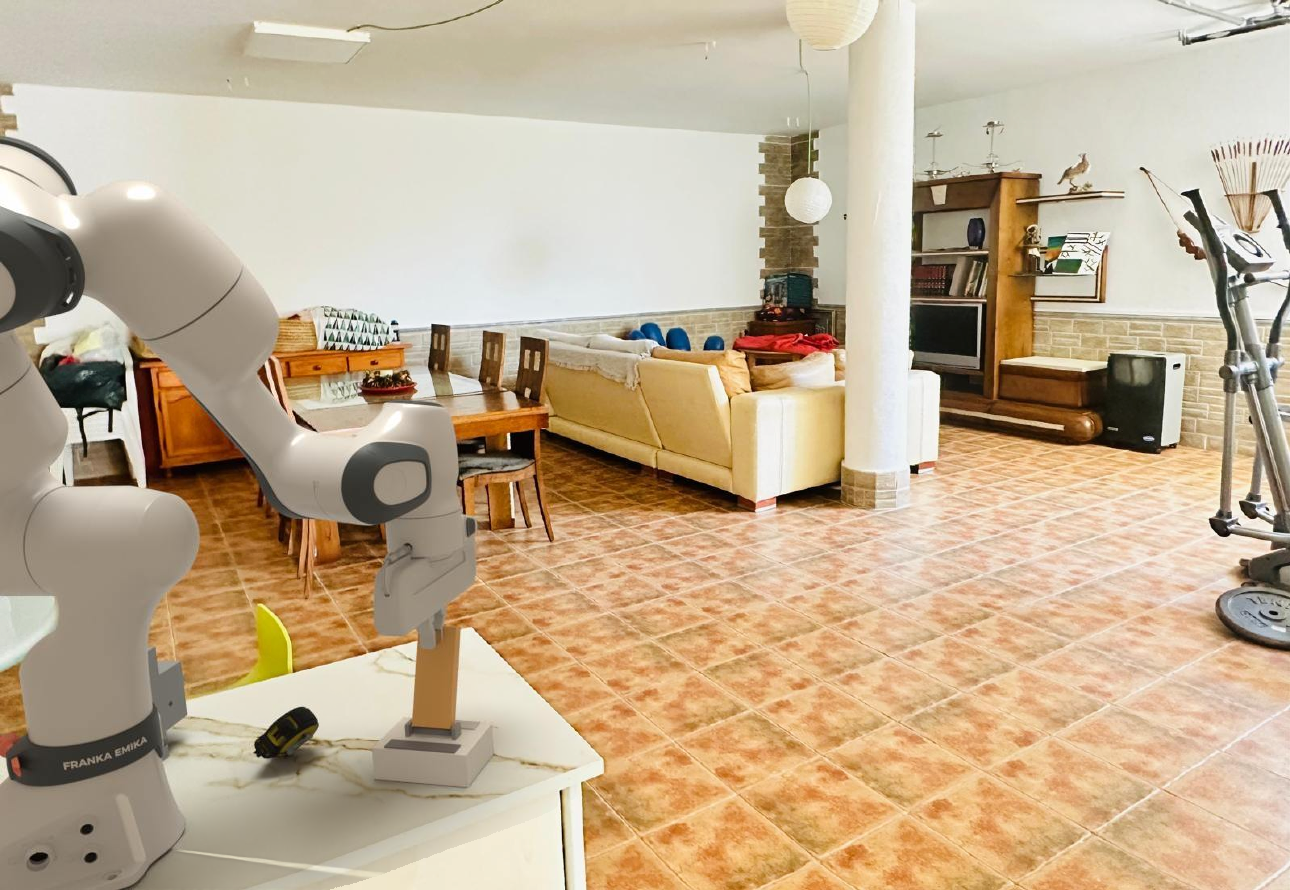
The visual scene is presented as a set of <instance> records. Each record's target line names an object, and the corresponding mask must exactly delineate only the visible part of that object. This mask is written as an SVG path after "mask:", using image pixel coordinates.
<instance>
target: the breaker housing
mask: <svg viewBox="0 0 1290 890" xmlns="http://www.w3.org/2000/svg"><path fill="white" fill-rule="evenodd" d="M412 729H413V726H412V717H410V716H409V717H407V716H403V717H401V719H400V720H399V721H398V722H397V723H395V725H394V726H393V727H392V728H391V729H389V730H388V732H386V733H385V734H384V736H382V738H381V739H379V740H378V741H377V742H376V743H375V744H374V745H373V746H372V747H371V755H372V766H373V776H374V777H373V778H374V780H380V781H390V782H391V781H393V782H405V783H412V784H413V783H415V784H425V785H426V784H427V785H435V786H436V785H437V786H446V787H447V786H448V787H458V788H459V787H460V788H469V787H470V786H471V785H472V783H473V782H474V781H475V779H476V778H477V776H478V775H479V774H480V773H481V771H482V770H483V768H484V767H486V764H487V763H488V762H489V761H490V759H492V757H493V755H494V754H495V750H494V749H495V748H494V735H493V734H494V732H493V723H490V722H480V721H474V720H458V719H455V725H454V726H453V727H452V728H451V734H452V736H444V735H431V734H418V733H413V732H412Z"/></svg>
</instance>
